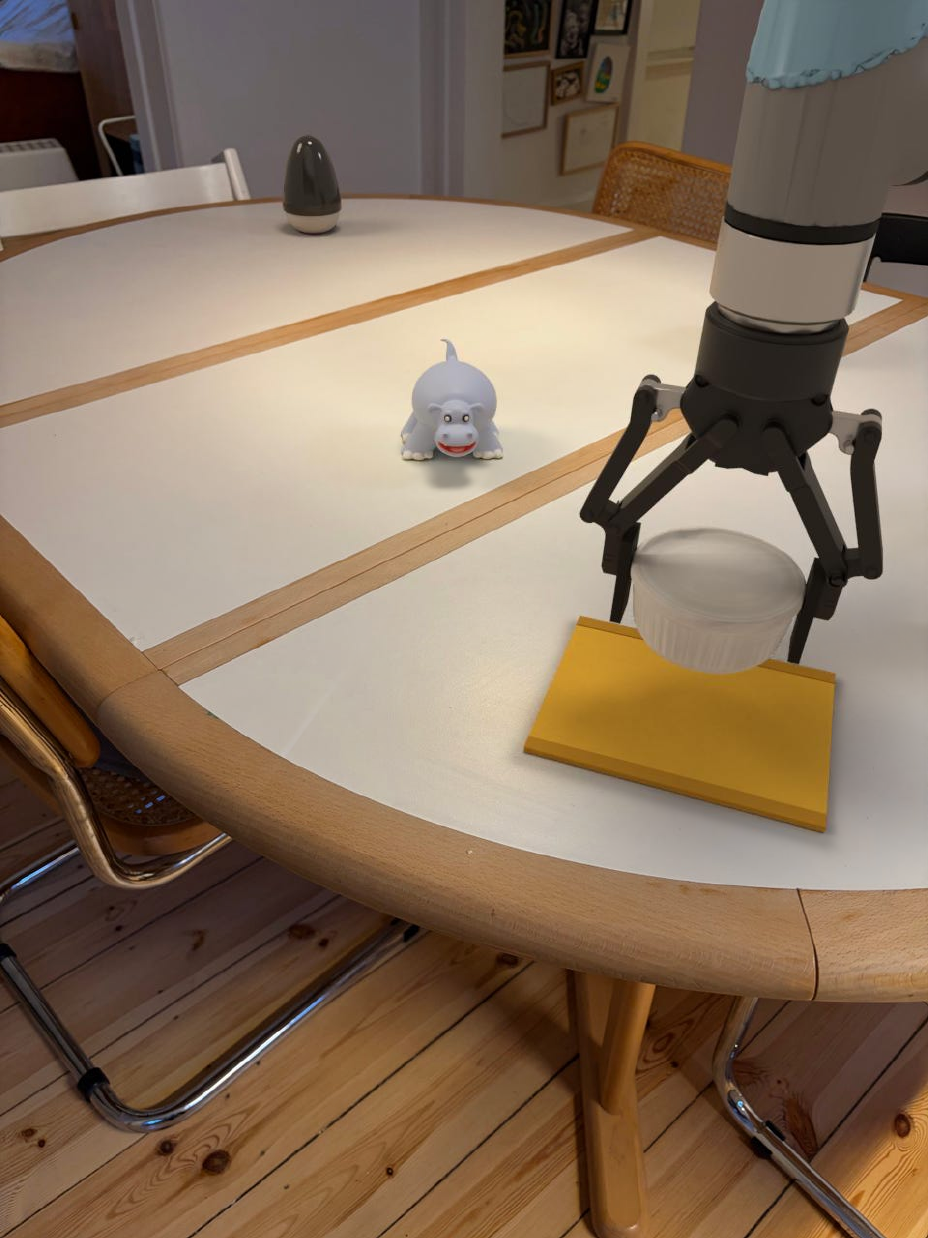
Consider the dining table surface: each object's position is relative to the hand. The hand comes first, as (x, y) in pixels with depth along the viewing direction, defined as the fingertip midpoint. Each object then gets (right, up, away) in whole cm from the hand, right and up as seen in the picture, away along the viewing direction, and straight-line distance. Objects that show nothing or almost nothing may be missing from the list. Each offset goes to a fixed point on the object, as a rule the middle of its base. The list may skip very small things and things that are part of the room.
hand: (704, 631), depth 63 cm
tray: (0, -6, +5) cm, 8 cm away
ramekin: (0, 0, 0) cm, 0 cm away
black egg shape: (-43, +70, +102) cm, 131 cm away
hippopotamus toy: (-18, +19, +36) cm, 45 cm away
